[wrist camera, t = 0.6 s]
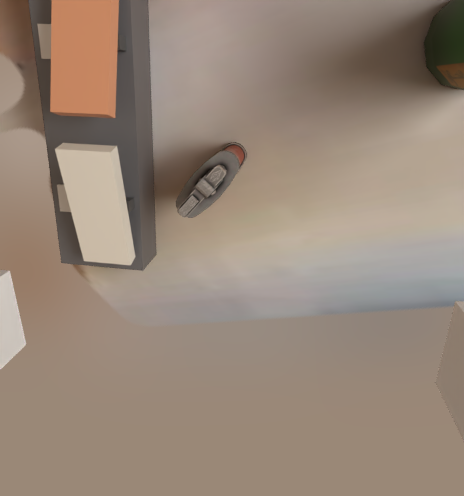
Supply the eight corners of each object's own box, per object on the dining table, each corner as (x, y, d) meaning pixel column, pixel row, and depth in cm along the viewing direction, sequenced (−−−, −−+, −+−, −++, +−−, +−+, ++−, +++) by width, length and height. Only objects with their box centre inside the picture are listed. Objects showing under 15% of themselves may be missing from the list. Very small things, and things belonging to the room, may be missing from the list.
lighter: (231, 135, 45) (216, 146, 35) (253, 156, 45) (244, 172, 36) (186, 186, 48) (160, 209, 38) (207, 206, 48) (187, 232, 39)
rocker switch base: (24, -300, 34) (-35, -387, 28) (137, -309, 33) (102, -401, 27) (81, 248, 52) (53, 268, 46) (156, 254, 51) (137, 276, 45)
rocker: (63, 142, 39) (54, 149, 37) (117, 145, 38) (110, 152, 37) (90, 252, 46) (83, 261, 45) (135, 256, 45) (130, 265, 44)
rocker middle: (62, -35, 36) (52, -46, 34) (120, -35, 35) (112, -45, 34) (60, 115, 38) (50, 111, 36) (115, 118, 37) (107, 114, 35)
